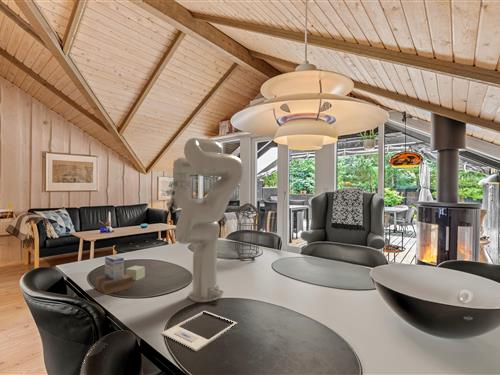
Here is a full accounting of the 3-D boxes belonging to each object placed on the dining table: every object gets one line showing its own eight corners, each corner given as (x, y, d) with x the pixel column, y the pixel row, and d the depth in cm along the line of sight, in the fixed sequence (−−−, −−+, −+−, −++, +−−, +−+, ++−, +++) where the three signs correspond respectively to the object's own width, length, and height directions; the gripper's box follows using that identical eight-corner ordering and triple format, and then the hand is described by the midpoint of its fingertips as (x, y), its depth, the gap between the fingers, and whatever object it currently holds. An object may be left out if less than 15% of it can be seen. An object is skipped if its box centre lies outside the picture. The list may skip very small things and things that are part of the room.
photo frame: (161, 331, 81) (204, 310, 96) (161, 335, 81) (204, 313, 96) (196, 348, 72) (237, 322, 87) (196, 353, 72) (237, 325, 87)
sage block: (144, 276, 133) (145, 266, 133) (136, 280, 127) (136, 270, 127) (135, 275, 135) (135, 265, 135) (125, 279, 129) (126, 268, 129)
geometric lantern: (231, 256, 174) (233, 202, 175) (254, 255, 179) (256, 202, 179) (237, 262, 159) (239, 203, 160) (262, 261, 163) (264, 203, 164)
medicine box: (104, 276, 118) (104, 257, 118) (114, 274, 122) (114, 254, 122) (113, 280, 113) (113, 259, 113) (123, 277, 117) (124, 257, 117)
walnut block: (132, 288, 118) (132, 277, 118) (105, 295, 110) (105, 283, 110) (121, 282, 125) (121, 271, 125) (95, 289, 117) (95, 277, 117)
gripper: (173, 184, 124) (172, 221, 124) (198, 185, 139) (198, 218, 139) (161, 184, 128) (161, 220, 128) (187, 185, 143) (187, 217, 142)
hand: (180, 219), depth 133 cm, fingers open, 9 cm apart
